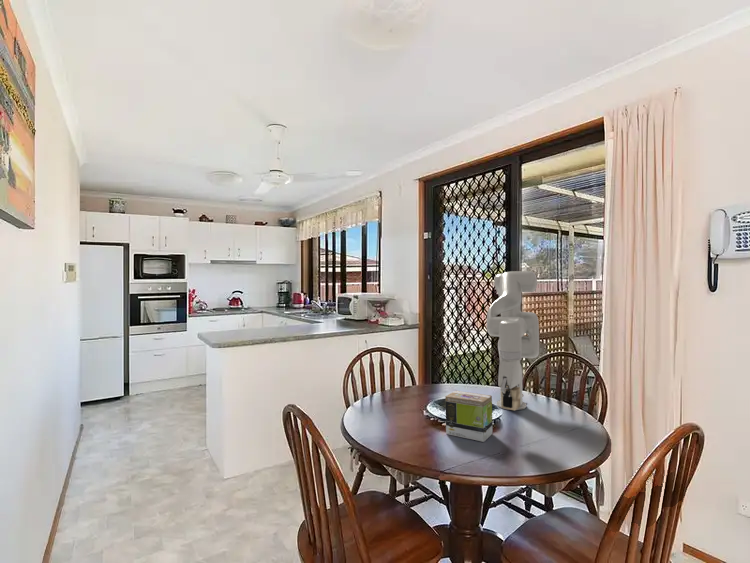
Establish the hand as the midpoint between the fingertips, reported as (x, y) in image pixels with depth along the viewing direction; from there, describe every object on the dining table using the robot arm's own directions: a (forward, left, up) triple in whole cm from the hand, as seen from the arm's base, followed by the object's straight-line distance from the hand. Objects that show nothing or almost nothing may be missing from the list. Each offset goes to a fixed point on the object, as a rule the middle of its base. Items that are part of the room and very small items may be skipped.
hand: (510, 404), depth 152 cm
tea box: (+4, -15, -14) cm, 20 cm away
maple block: (0, 0, -1) cm, 1 cm away
